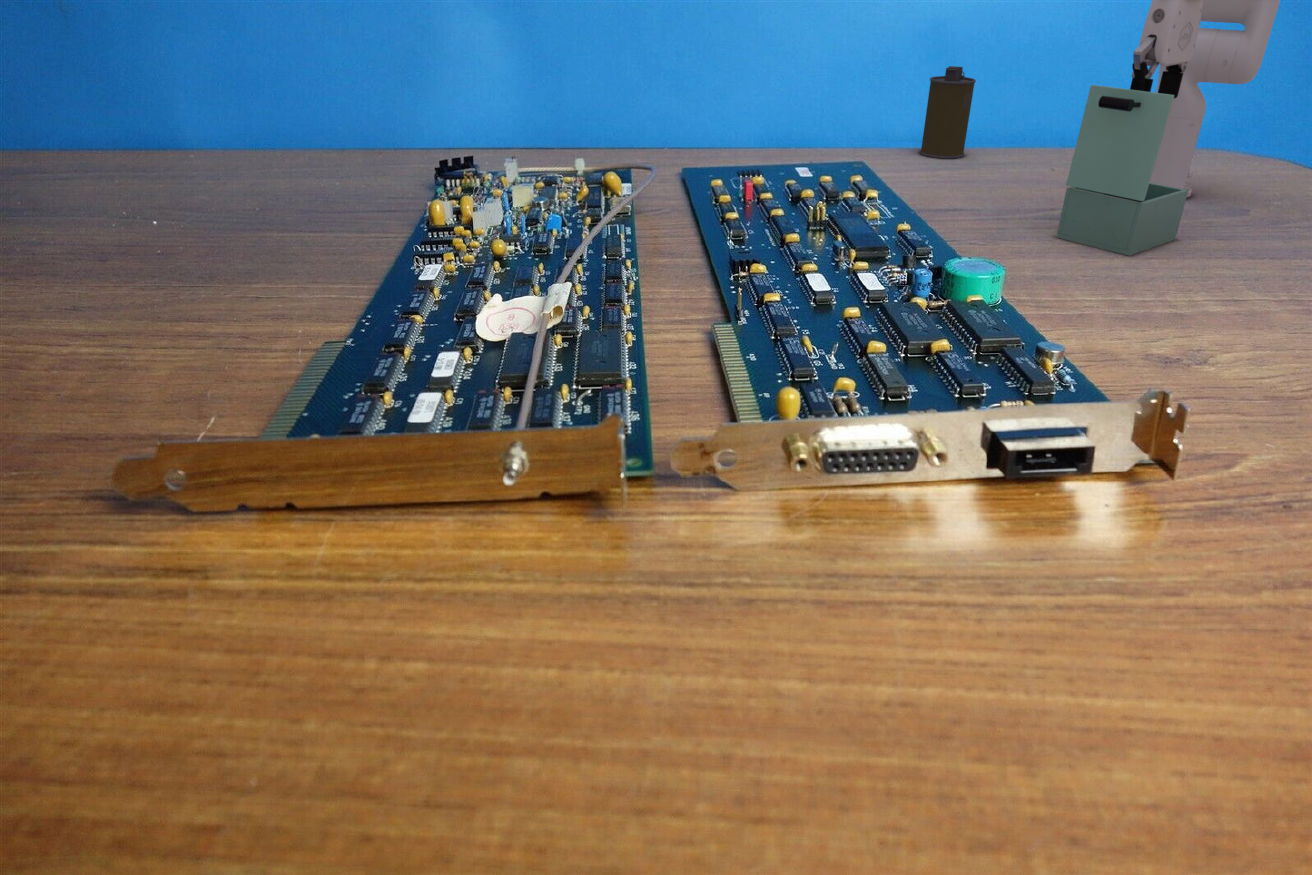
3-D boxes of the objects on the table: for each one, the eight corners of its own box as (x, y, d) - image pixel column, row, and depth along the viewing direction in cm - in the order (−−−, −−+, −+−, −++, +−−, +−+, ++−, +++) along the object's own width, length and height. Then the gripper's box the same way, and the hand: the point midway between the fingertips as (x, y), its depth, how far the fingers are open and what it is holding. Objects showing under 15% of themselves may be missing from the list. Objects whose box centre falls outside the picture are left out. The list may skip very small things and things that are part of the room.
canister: (956, 160, 222) (970, 71, 212) (913, 155, 227) (925, 67, 217) (969, 152, 230) (983, 66, 220) (928, 148, 235) (940, 63, 225)
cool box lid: (1093, 84, 155) (1077, 85, 152) (1174, 95, 145) (1159, 95, 143) (1068, 185, 162) (1052, 187, 159) (1144, 201, 153) (1129, 203, 150)
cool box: (1102, 223, 175) (1114, 175, 171) (1175, 240, 165) (1188, 190, 161) (1056, 237, 166) (1066, 187, 162) (1129, 256, 157) (1142, 204, 153)
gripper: (1176, -9, 140) (1147, 110, 149) (1230, -15, 149) (1200, 97, 158) (1128, -12, 145) (1103, 103, 154) (1183, -17, 154) (1156, 92, 163)
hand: (1152, 100), depth 156 cm, fingers open, 9 cm apart
